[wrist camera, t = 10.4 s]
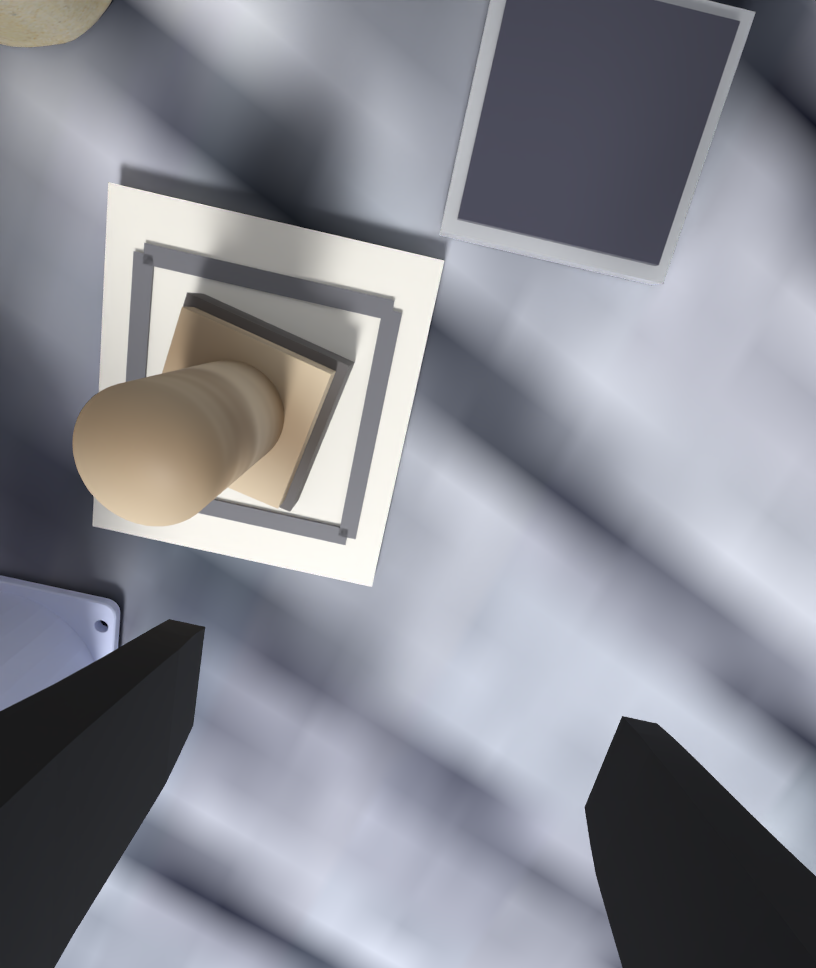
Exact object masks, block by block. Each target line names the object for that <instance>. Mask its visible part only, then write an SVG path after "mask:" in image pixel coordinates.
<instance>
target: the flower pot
mask: <svg viewBox="0 0 816 968" xmlns="http://www.w3.org/2000/svg"><path fill="white" fill-rule="evenodd" d="M111 1H112V0H0V44H3V45H7V46H12V47H39V46H48V45H56V44H63V43H67V42H70V41H73V40H75V39H76V38H78V37H79V36H81V35H82V34H84V33H85V32H86V31H87V30H88V29H90V28H91V27H92V26H93V25H94V24H95V23H96V22H97V21H98V20H99V18H100V17H101V16H102V14H103V13H104V12H105V11H106V9H107V8H108V6H109V5H110V3H111Z"/></svg>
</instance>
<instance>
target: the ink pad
mask: <svg viewBox="0 0 816 968" xmlns="http://www.w3.org/2000/svg"><path fill="white" fill-rule="evenodd" d="M755 13H756V12H753V11H749V10H745V9H741V8H737V7H733V6H729V5H725V4H721V3H717V2H713V1H709V0H490V4H489V9H488V13H487V18H486V22H485V27H484V32H483V36H482V41H481V45H480V50H479V55H478V59H477V64H476V68H475V73H474V78H473V82H472V87H471V91H470V96H469V101H468V105H467V110H466V115H465V119H464V124H463V128H462V133H461V138H460V142H459V147H458V151H457V156H456V161H455V165H454V170H453V174H452V179H451V184H450V188H449V193H448V197H447V202H446V207H445V211H444V216H443V220H442V225H441V230H440V236H444V237H448V238H452V239H456V240H461V241H465V242H469V243H473V244H478V245H482V246H486V247H491V248H495V249H499V250H503V251H508V252H512V253H516V254H520V255H525V256H529V257H533V258H538V259H542V260H546V261H550V262H555V263H559V264H563V265H568V266H572V267H576V268H580V269H585V270H589V271H593V272H597V273H602V274H606V275H610V276H615V277H619V278H623V279H627V280H632V281H636V282H640V283H644V284H649V285H657V284H663V283H664V280H665V277H666V274H667V271H668V268H669V265H670V262H671V259H672V256H673V254H674V251H675V248H676V245H677V242H678V239H679V236H680V233H681V230H682V227H683V224H684V221H685V218H686V215H687V212H688V209H689V207H690V204H691V201H692V198H693V195H694V192H695V189H696V186H697V183H698V180H699V177H700V174H701V171H702V168H703V165H704V162H705V160H706V157H707V154H708V151H709V148H710V145H711V142H712V139H713V136H714V133H715V130H716V127H717V124H718V121H719V118H720V115H721V112H722V110H723V107H724V104H725V101H726V98H727V95H728V92H729V89H730V86H731V83H732V80H733V77H734V74H735V71H736V68H737V65H738V63H739V60H740V57H741V54H742V51H743V48H744V45H745V42H746V39H747V36H748V33H749V30H750V27H751V24H752V21H753V18H754V15H755Z"/></svg>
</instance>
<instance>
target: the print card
mask: <svg viewBox="0 0 816 968" xmlns="http://www.w3.org/2000/svg"><path fill="white" fill-rule="evenodd" d="M443 265H444V260H440V259H435V258H431V257H427V256H422V255H418V254H414V253H410V252H405V251H401V250H397V249H392V248H388V247H384V246H380V245H375V244H371V243H367V242H362V241H358V240H354V239H349V238H345V237H341V236H337V235H332V234H328V233H324V232H319V231H315V230H311V229H306V228H302V227H298V226H294V225H289V224H285V223H281V222H276V221H272V220H268V219H264V218H259V217H255V216H251V215H246V214H242V213H238V212H233V211H229V210H225V209H221V208H216V207H212V206H208V205H203V204H199V203H195V202H191V201H186V200H182V199H178V198H173V197H169V196H165V195H160V194H156V193H152V192H148V191H143V190H139V189H135V188H130V187H126V186H122V185H118V184H113V183H109V182H108V203H107V225H106V246H105V268H104V289H103V311H102V332H101V354H100V375H99V392H100V391H102V390H104V389H106V388H108V387H110V386H113V385H116V384H119V383H124V382H128V381H132V380H136V379H141V378H145V377H149V376H154V375H158V374H162V371H163V368H164V365H165V361H166V358H167V355H168V351H169V348H170V345H171V341H172V338H173V335H174V331H175V328H176V325H177V321H178V318H179V315H180V312H181V308H182V307H183V304H184V301H185V298H186V294H187V292H189V293H202V294H206V295H208V296H210V297H212V298H215V299H217V300H219V301H221V302H223V303H226V304H228V305H230V306H232V307H234V308H237V309H239V310H241V311H243V312H245V313H248V314H250V315H252V316H254V317H256V318H258V319H261V320H263V321H265V322H267V323H269V324H272V325H274V326H276V327H278V328H280V329H283V330H285V331H287V332H289V333H291V334H294V335H296V336H298V337H300V338H302V339H305V340H307V341H309V342H311V343H313V344H316V345H318V346H320V347H322V348H324V349H327V350H329V351H331V352H333V353H335V354H338V355H340V356H342V357H344V358H346V359H349V360H351V361H353V362H355V363H354V366H353V368H352V371H351V373H350V375H349V378H348V380H347V383H346V385H345V388H344V390H343V393H342V395H341V398H340V400H339V402H338V405H337V407H336V410H335V412H334V415H333V417H332V420H331V422H330V424H329V427H328V429H327V432H326V434H325V437H324V439H323V442H322V444H321V447H320V449H319V451H318V454H317V456H316V459H315V461H314V464H313V466H312V469H311V471H310V474H309V476H308V478H307V481H306V483H305V486H304V488H303V491H302V493H301V496H300V498H299V500H298V502H297V503H296V504H295V506H294V507H293V509H292V510H291V511H290V512H289V511H287V510H284V509H282V508H280V507H279V508H278V509H277V508H275V507H272V506H270V505H268V504H265V503H263V502H261V501H258V500H256V499H254V498H251V497H249V496H247V495H244V494H242V493H240V492H237V491H235V490H233V489H230V488H226V489H225V490H224V491H223V492H222V493H221V494H219V495H218V496H217V497H216V498H215V499H214V500H212V501H211V502H210V503H209V504H208V505H207V506H206V507H204V508H203V509H202V510H201V511H200V512H199V513H197V514H196V515H195V516H193V517H191V518H190V519H188V520H186V521H183V522H181V523H178V524H174V525H169V526H145V525H141V524H136V523H133V522H131V521H128V520H125V519H123V518H121V517H119V516H117V515H116V514H114V513H113V512H111V511H109V510H108V509H107V508H106V507H104V506H103V505H102V504H101V503H100V502H99V501H98V500H97V499H96V498H95V497H94V504H93V526H94V527H99V528H104V529H108V530H113V531H117V532H122V533H127V534H131V535H136V536H140V537H145V538H150V539H154V540H159V541H163V542H168V543H173V544H177V545H182V546H186V547H191V548H196V549H200V550H205V551H209V552H214V553H219V554H223V555H228V556H232V557H237V558H242V559H246V560H251V561H255V562H260V563H265V564H269V565H274V566H278V567H283V568H288V569H292V570H297V571H301V572H306V573H311V574H315V575H320V576H324V577H329V578H334V579H338V580H343V581H347V582H352V583H357V584H361V585H366V586H370V587H372V583H373V579H374V574H375V570H376V565H377V561H378V557H379V552H380V548H381V543H382V539H383V534H384V530H385V525H386V521H387V516H388V512H389V507H390V503H391V498H392V494H393V489H394V485H395V480H396V476H397V471H398V467H399V462H400V458H401V453H402V449H403V444H404V440H405V435H406V431H407V426H408V422H409V417H410V413H411V408H412V404H413V399H414V395H415V390H416V386H417V381H418V377H419V372H420V368H421V363H422V359H423V354H424V350H425V345H426V341H427V336H428V332H429V327H430V323H431V318H432V314H433V309H434V305H435V301H436V296H437V292H438V287H439V283H440V278H441V274H442V269H443Z"/></svg>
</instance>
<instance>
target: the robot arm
mask: <svg viewBox="0 0 816 968" xmlns="http://www.w3.org/2000/svg"><path fill="white" fill-rule="evenodd" d="M101 620H102V621H104V622H106V623H107V624H108V627H106V626H104V625H103V624H102V623H101ZM119 626H120V608H119V606H118V605H117V603H115V602H114V601H113V600H111V599H108V598H104V597H99V596H94V595H90V594H85V593H80V592H76V591H71V590H66V589H62V588H57V587H52V586H48V585H43V584H38V583H34V582H29V581H24V580H20V579H15V578H10V577H6V576H1V575H0V968H54V967H55V966H56V964H57V962H58V960H59V959H60V957H61V955H62V953H63V952H64V950H65V948H66V946H67V945H68V943H69V941H70V939H71V938H72V936H73V934H74V933H75V931H76V929H77V928H78V926H79V924H80V923H81V921H82V920H83V918H84V916H85V915H86V913H87V911H88V910H89V908H90V907H91V905H92V903H93V902H94V900H95V898H96V897H97V895H98V894H99V892H100V890H101V889H102V887H103V885H104V884H105V882H106V881H107V879H108V877H109V876H110V874H111V872H112V871H113V869H114V868H115V866H116V864H117V863H118V861H119V860H120V858H121V856H122V855H123V853H124V851H125V850H126V848H127V847H128V845H129V843H130V842H131V840H132V838H133V837H134V835H135V834H136V832H137V830H138V829H139V827H140V825H141V824H142V822H143V820H144V819H145V817H146V815H147V814H148V812H149V811H150V809H151V807H152V806H153V804H154V802H155V801H156V799H157V797H158V796H159V794H160V792H161V791H162V789H163V787H164V786H165V784H166V782H167V780H168V778H169V776H170V773H171V771H172V769H173V767H174V765H175V763H176V761H177V759H178V757H179V755H180V753H181V750H182V748H183V746H184V744H185V742H186V740H187V737H188V735H189V733H190V731H191V729H192V727H193V722H194V714H195V706H196V697H197V689H198V681H199V673H200V664H201V656H202V648H203V640H204V632H205V627H203V626H198V625H194V624H189V623H184V622H180V621H175V620H170V619H169V620H167V621H165V622H163V623H161V624H160V625H158V626H156V627H154V628H152V629H151V630H149V631H147V632H146V633H144V634H142V635H140V636H139V637H137V638H135V639H133V640H132V641H130V642H128V643H126V644H125V645H123V646H121V647H119V648H118V641H119ZM585 813H586V819H587V826H588V832H589V839H590V845H591V850H592V856H593V861H594V867H595V872H596V876H597V880H598V884H599V887H600V891H601V895H602V898H603V902H604V905H605V909H606V912H607V916H608V919H609V923H610V926H611V930H612V933H613V936H614V940H615V943H616V947H617V950H618V953H619V957H620V960H621V964H622V967H623V968H816V876H815V875H814V874H813V873H812V872H811V871H810V870H809V869H807V868H806V867H805V866H804V865H803V864H802V863H801V862H800V861H799V860H798V859H797V858H796V857H795V856H794V855H793V854H792V853H791V852H789V851H788V850H787V849H786V848H785V847H784V846H783V845H782V844H781V843H780V842H779V841H778V840H777V839H776V838H775V837H774V836H773V835H772V834H771V833H770V832H769V831H768V830H767V829H766V828H765V827H763V826H762V825H761V824H760V823H759V822H758V821H757V820H756V819H755V818H754V817H753V816H752V815H751V814H750V813H749V812H748V811H747V810H746V809H745V808H744V807H743V806H742V805H741V804H740V803H739V802H738V801H737V800H736V799H735V798H734V797H733V796H732V795H731V794H730V793H729V792H728V791H727V790H726V789H725V788H724V787H723V786H722V785H721V784H720V783H719V782H718V781H717V780H716V779H715V778H714V777H713V776H712V775H711V774H710V773H709V772H708V771H707V770H706V769H705V768H704V767H703V766H702V765H701V764H700V763H699V762H698V761H697V760H696V759H695V758H694V757H693V756H692V755H691V754H690V753H688V752H687V751H686V750H685V749H684V748H683V747H682V746H681V745H680V744H679V743H678V742H677V741H676V740H675V739H674V738H673V737H672V736H671V735H669V734H668V733H667V732H666V731H665V730H664V729H663V728H661V727H660V726H659V725H658V724H656V723H652V722H647V721H642V720H638V719H633V718H628V717H624V716H622V718H621V720H620V723H619V725H618V728H617V730H616V733H615V735H614V737H613V740H612V742H611V745H610V747H609V750H608V752H607V754H606V757H605V759H604V762H603V764H602V767H601V769H600V771H599V774H598V776H597V779H596V781H595V783H594V786H593V788H592V791H591V793H590V796H589V798H588V800H587V803H586V805H585Z"/></svg>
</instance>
